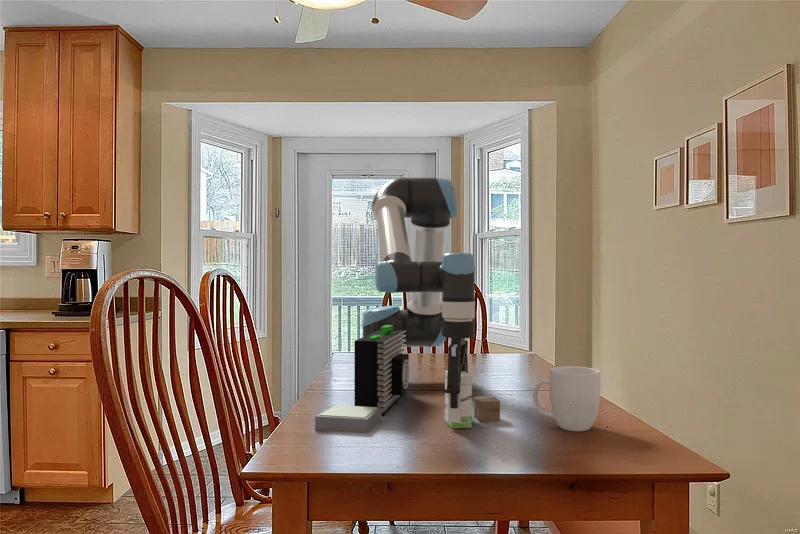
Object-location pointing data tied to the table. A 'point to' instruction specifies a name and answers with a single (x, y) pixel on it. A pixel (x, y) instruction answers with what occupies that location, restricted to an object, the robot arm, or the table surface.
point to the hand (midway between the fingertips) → (458, 416)
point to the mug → (572, 396)
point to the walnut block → (487, 409)
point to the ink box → (462, 401)
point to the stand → (348, 418)
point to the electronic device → (381, 369)
